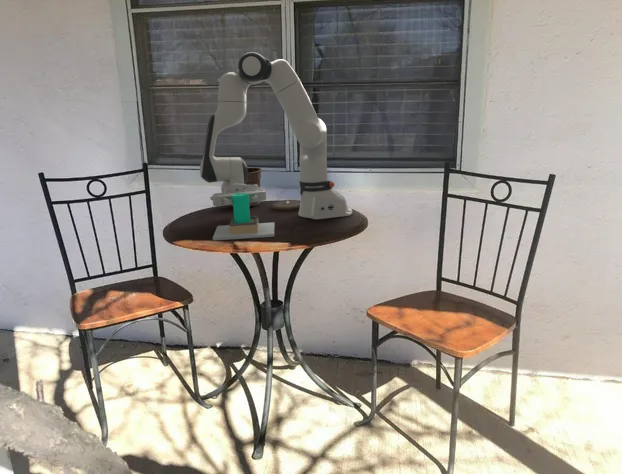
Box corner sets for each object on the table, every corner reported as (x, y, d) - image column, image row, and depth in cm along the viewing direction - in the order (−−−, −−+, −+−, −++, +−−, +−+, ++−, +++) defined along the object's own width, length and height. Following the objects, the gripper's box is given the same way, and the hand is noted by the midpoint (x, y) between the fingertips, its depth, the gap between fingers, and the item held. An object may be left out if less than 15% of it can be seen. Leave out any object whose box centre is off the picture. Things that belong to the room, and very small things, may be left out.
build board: (274, 224, 197) (273, 212, 196) (274, 236, 182) (273, 223, 181) (217, 228, 196) (216, 216, 195) (212, 240, 181) (211, 227, 180)
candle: (247, 224, 185) (244, 192, 181) (232, 224, 186) (229, 192, 182) (252, 220, 190) (250, 188, 187) (237, 219, 191) (234, 188, 188)
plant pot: (224, 209, 227) (220, 173, 222) (234, 201, 242) (231, 167, 237) (259, 208, 224) (256, 172, 219) (267, 200, 239) (265, 166, 235)
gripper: (208, 189, 194) (213, 196, 181) (260, 183, 199) (268, 190, 187) (210, 205, 196) (214, 213, 183) (262, 199, 201) (269, 206, 188)
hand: (242, 201), depth 185 cm, fingers open, 8 cm apart
